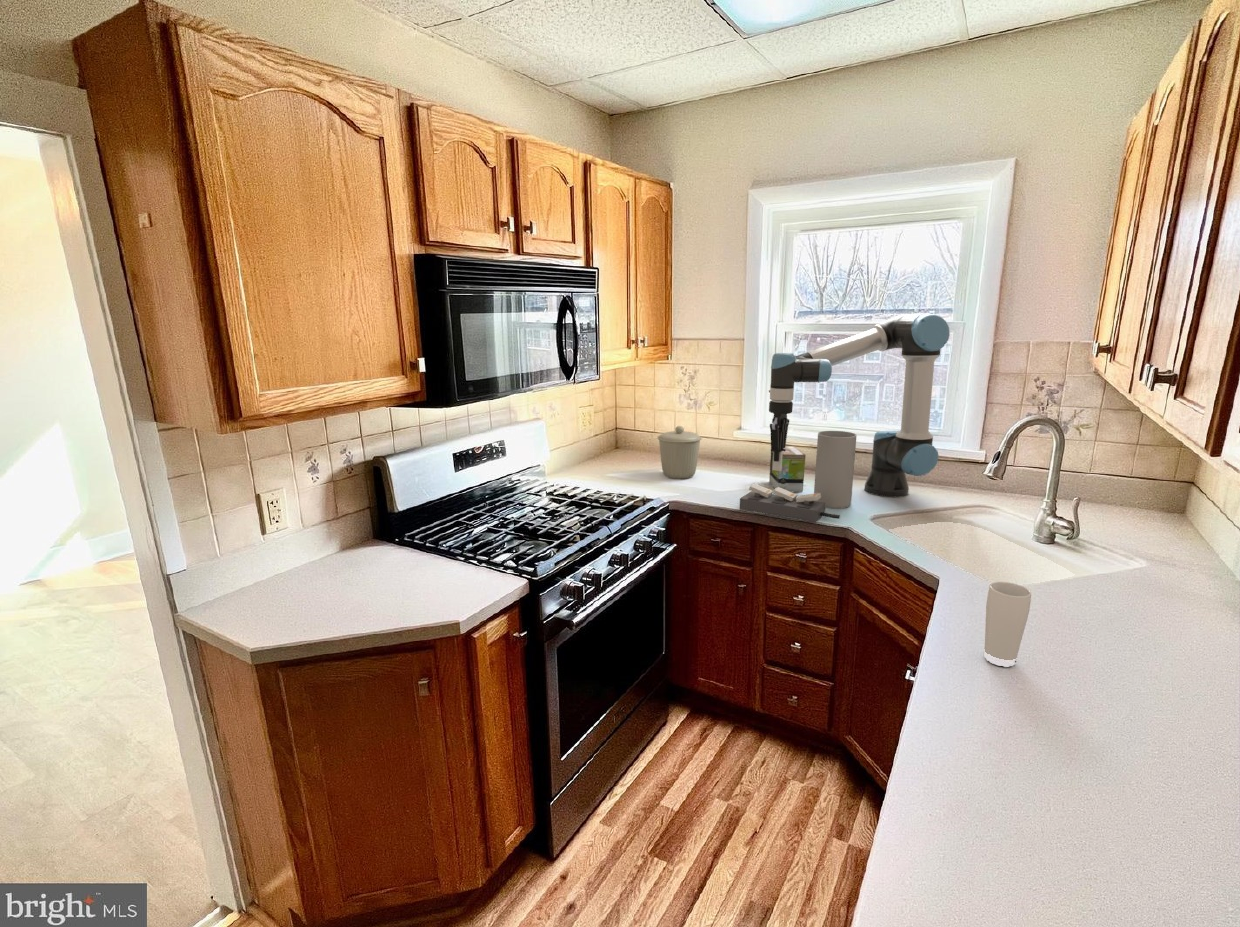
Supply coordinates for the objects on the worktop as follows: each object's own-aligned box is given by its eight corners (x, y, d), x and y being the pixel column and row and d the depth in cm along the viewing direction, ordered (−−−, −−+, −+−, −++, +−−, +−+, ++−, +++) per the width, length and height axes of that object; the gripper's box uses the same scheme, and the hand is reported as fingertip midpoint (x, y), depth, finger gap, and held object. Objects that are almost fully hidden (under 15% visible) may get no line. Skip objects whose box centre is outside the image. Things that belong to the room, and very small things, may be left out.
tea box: (804, 492, 229) (806, 453, 226) (777, 492, 230) (779, 454, 226) (793, 481, 244) (795, 445, 240) (768, 481, 244) (770, 445, 241)
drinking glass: (1028, 666, 115) (1040, 593, 111) (1002, 674, 113) (1013, 599, 109) (996, 649, 121) (1006, 579, 118) (970, 655, 119) (980, 584, 115)
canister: (689, 483, 242) (690, 431, 237) (649, 478, 251) (649, 427, 246) (707, 473, 257) (709, 424, 252) (669, 468, 266) (670, 421, 261)
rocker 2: (795, 500, 208) (797, 494, 207) (791, 503, 204) (793, 497, 203) (776, 492, 211) (778, 486, 210) (771, 495, 207) (773, 489, 206)
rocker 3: (821, 499, 202) (820, 492, 202) (817, 502, 199) (816, 495, 199) (801, 501, 207) (799, 494, 206) (797, 504, 203) (795, 497, 203)
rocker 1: (771, 496, 212) (773, 490, 211) (766, 499, 209) (768, 493, 208) (753, 488, 215) (754, 483, 215) (748, 491, 212) (750, 485, 211)
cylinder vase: (856, 508, 209) (863, 437, 203) (821, 509, 208) (826, 437, 203) (842, 498, 221) (847, 430, 215) (808, 499, 221) (812, 431, 215)
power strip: (843, 517, 201) (844, 501, 199) (834, 525, 192) (836, 509, 191) (750, 502, 218) (751, 487, 217) (739, 509, 210) (740, 494, 208)
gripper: (776, 397, 208) (772, 464, 214) (763, 402, 198) (759, 472, 203) (798, 399, 204) (794, 467, 210) (785, 403, 194) (781, 475, 199)
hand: (776, 470), depth 207 cm, fingers closed
